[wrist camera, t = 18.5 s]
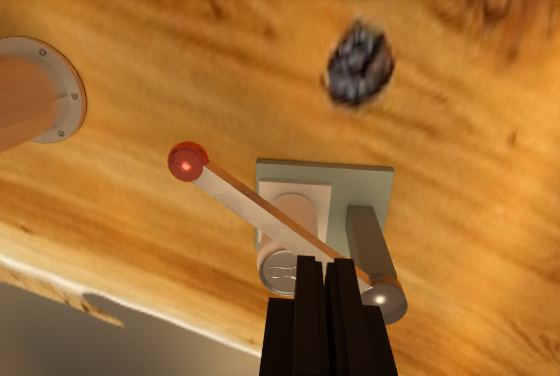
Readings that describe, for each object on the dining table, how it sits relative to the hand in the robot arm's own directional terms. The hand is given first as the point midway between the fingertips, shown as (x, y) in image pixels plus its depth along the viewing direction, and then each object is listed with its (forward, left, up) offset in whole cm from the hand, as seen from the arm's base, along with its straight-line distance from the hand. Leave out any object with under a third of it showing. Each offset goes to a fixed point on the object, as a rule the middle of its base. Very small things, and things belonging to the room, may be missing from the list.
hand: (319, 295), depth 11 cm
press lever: (-1, -9, -19) cm, 21 cm away
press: (+2, -15, -35) cm, 38 cm away
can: (-1, -15, -32) cm, 36 cm away
